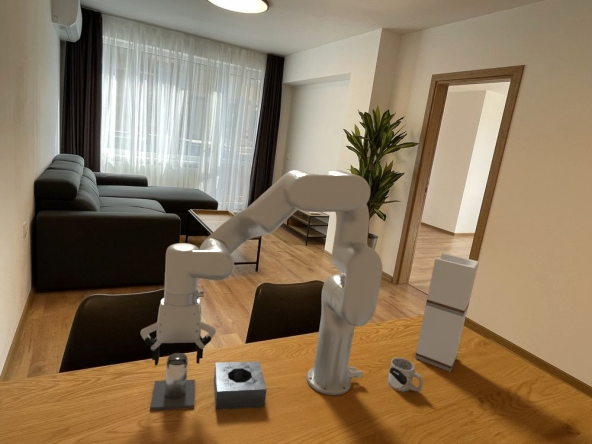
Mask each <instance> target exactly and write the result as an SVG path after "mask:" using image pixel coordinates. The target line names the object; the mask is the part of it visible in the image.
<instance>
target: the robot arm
mask: <svg viewBox="0 0 592 444" xmlns="http://www.w3.org/2000/svg"><path fill="white" fill-rule="evenodd" d="M370 197H371V187H370V185H369V183H368V181H367V180H366V179H365V178H364V177H362V176H360V175H358V174H356V173H355V174H354V173H350V172H347V171H344V170H339V169H336V170H335V169H334V170H329V171H327V172H325V173H324V174H316V173H309V172H307V171H303V170H299V169H294V170H290V171H288V172H286V173H284V174H283V175H282V176H281V177H280V178H278V180H276V181H275V182H274V183H273V184H272V185H271V186H270V187H268V189H267V190H266V191H264V192H263V193H262V194H261V195H259V197H258V198H256V199H255V200H254V201H253V202H252V203H251V204H250V205H249V206H247V207H246V208H244V209H243V210H241V211H240V212H238V213H237V214H236V215H234V216H232V217H230V218H229V219H227V220H226V221H225V222H223V224H221V225H220V226H219V227H218V228H216V229H215V230H214V231H213V232H212V233H211V234H210V235H209V236H208V237H207V238H205V239H204V241H203V242H202V243H201V245H200V247H198V246H196V245H194V244H191V243H186V242H184V243H183V242H181V243H180V242H179V243H178V242H177V243H174V244H171V245H169V246H168V247H167V249H166V252H165V267H164V268H165V272H164V290H163V291H164V293H163V294H164V295H163V298H162V299H161V300H160V304H159V307H158V314H157V321H156V322H154V323H152V324H150V325H148V326H146V327H144V328H142V329H141V330H140V336H141V338H142V339H143V341H144V343H145V344H146V345H148V347H149V348H150V350H151V353H152V354H151V356H152V357H151V361H154V366H157V365H159V362H160V346H161V345H162V344H176V343H177V344H179V343H180V344H181V343H182V344H183V343H184V344H186V343H195V344H196V359H195V361H196V364H199V365H200V359H203V354H204V348H205V346H207V345H208V344H209V343H210V342H211V341H212V340H213V338H214V336H215V335H216V332H217V329H216V328H215V327H214V326H211V325H210V324H207V323H205V322H203V321H202V304H201V300H200V298H204V295H205V294H204V291H201V290H200V289H199V288H198V287H199V279H203V280H208V281H216V282H217V281H223V280H226V279H228V278H229V277H230V276H231V275H232V274H233V272H234V269H235V262H234V261H235V260H234V258H233V256H232V254H233V253H234V252H235V251H236V250H238V248H239V247H240V246H242V245H243V244H244V243H246V242H248V241H249V240H251V239H254V238H258V237H264V236H268V235H270V234H273V233H274V232H276V230H277V229H278V228H279V227H281V226H282V225H283V224H284V223H285V222H286V221H287V220H288V219H289V218H291V216H293V214H294V213H296V212H297V211H298V210H299V211H301V212H307V213H308V212H310V213H311V212H312V213H335V219H336V220H335V231H334V236H333V243H332V244H333V245H332V251H331V262H332V264H333V266H334V267H335V268H336V270H338V271H339V272H340V273H335V274H332V275H330V276H329V277H328V278H327V279H326V280H325V281H324V284H323V285H322V290H321V315H320V323H319V330H318V334H317V335H318V337H317V342H316V343H317V344H316V350H315V356H314V362H313V367H311V368H310V369H309V370H308V371H307V374H306V381H307V383H308V385H309V386H310V387H311V388H313V389H314V390H315V391H316V392H319V393H321V394H325V395H328V396H339V395H344V394H345V393H348V391H350V389H351V386H352V379H353V378H363V377H364V372H363V370H361V369H360V370H356V367H355V366H349V363H350V357H351V351H352V346H353V341H354V340H353V339H354V335H355V329H356V328H357V327H358V328H359V327H362V326H363V327H364V326H365V325H366V324H368V323H369V322H370V321H371V320H372V318H373V316H374V314H375V312H376V309H377V305H378V299H379V295H380V289H381V282H382V276H383V264H382V263H383V262H382V259H381V256H380V255H379V253H378V252H377V251H376V250H375V249H373V248H372V247H370V246H369V245H368V237H369V236H368V235H369V228H370V227H369V225H370V212H369V207H368V205H367V204H368V202H369V200H370ZM155 331H156V333H155V334H156V337H155V338H153V336H151V335H150V334H151V333H153V332H155ZM202 331H204V332H206V333H207V334H206V335H205V336H202V334H201V333H202Z"/></svg>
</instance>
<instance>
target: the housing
mask: <svg viewBox="0 0 592 444" xmlns="http://www.w3.org/2000/svg"><path fill="white" fill-rule="evenodd" d="M213 374H214V375H213V386H214V388H213V389H214V406H215V409H214V410H217V411H218V410H234V409H235V410H236V409H248V408H249V409H251V408H252V409H253V408H255V409H256V408H265V406H266V398H267V397H266V396H267V389H268V388H267V385H266V382H265V377H264V374H263V370H262V366H261V363H260V361H232V362H231V361H229V362H226V361H225V362H223V361H221V362H215V363H214V373H213Z"/></svg>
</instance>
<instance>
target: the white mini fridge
mask: <svg viewBox="0 0 592 444" xmlns="http://www.w3.org/2000/svg"><path fill="white" fill-rule="evenodd" d="M433 263H434V264H433V268H432V272H431V277H430V283H429V288H428V292H427V293H428V294H427V298H426V302H425V307H424V312H423V317H422V322H421V327H420V332H419V337H418V340H417V346H416V352H415V357H414V359H415V358H416V360H418V359H419V361H421V362H423V361H424V363H426V364H428V363H429V365H431V364H432V365H431V366H433V365H434V367H436V366H437V367H436V368H438V367H439V369H441V368H442V370H443V371H444V370H445V371H446V370H447V372H449V373H451V372H452V370H453V368H454V365H455V363H456V361H457V358H458V352H459V347H460V344H461V339H462V334H463V331H464V327H465V326H464V325H465V322H466V321H465V320H466V318H467V317H466V316H467V312H468V309H469V305H470V301H471V296H472V292H473V289H474V288H473V287H474V284H475V280H476V279H475V278H476V274H477V269H478V265H479V261H478V260H473V259H470V258H466V257H462V256H461V257H460V256H457V255H454V254H449V253H445V252H441V255H440V258H437V257H435V258H434V262H433ZM455 360H456V361H455Z"/></svg>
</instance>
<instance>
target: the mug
mask: <svg viewBox="0 0 592 444" xmlns="http://www.w3.org/2000/svg"><path fill="white" fill-rule="evenodd" d="M389 367H390V368H389V371H388V377H387V385H388V386H389V387H390V388H392V389H393V390H395V391H396V392H397V391H398V392H403V393H405V392H406V393H407V392H409V391H415V392H419V393H420V392H421V391H422V390H423V386H424V378H423V377H422V376H421V375H420V374H419V373H418V372H417V371H415V368H416V366H415V364H414V363H413V362H412V361H410V360H409V359H406V358H403V357H394V358H392V359H391V362H390V366H389ZM413 378H416V379H417V380H418V381H419V385H418V386H415V385H414V384H413Z"/></svg>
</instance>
